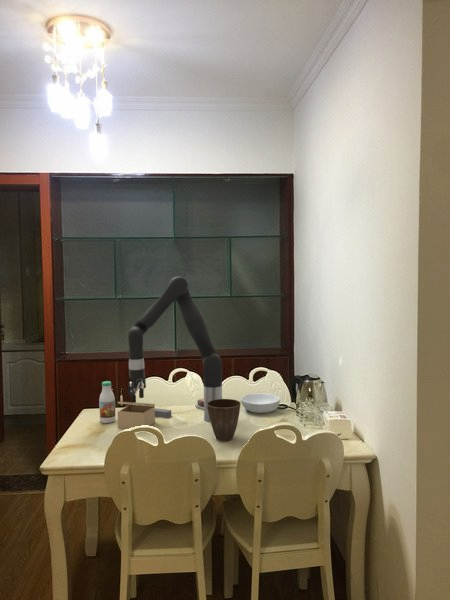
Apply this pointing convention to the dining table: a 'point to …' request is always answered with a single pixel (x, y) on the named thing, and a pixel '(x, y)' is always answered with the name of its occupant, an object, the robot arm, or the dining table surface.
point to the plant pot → (224, 417)
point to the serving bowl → (260, 402)
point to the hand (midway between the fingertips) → (137, 400)
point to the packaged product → (200, 404)
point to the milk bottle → (107, 404)
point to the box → (136, 416)
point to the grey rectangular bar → (162, 413)
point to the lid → (136, 403)
